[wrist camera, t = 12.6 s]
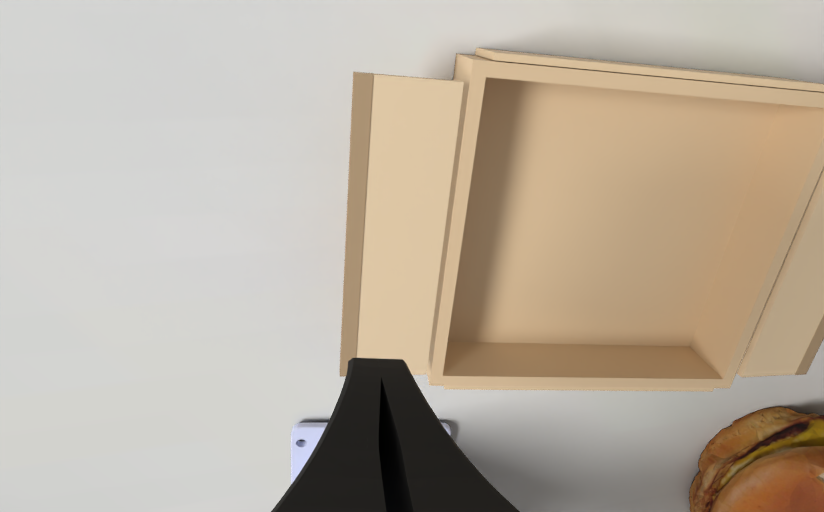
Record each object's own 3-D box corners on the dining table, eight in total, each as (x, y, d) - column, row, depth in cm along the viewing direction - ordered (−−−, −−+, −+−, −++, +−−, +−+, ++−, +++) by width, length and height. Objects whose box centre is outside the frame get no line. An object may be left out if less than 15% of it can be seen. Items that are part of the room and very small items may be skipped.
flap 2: (736, 372, 24) (799, 369, 25) (742, 377, 24) (806, 374, 24) (845, 115, 19) (919, 120, 20) (854, 117, 19) (929, 122, 20)
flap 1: (461, 81, 17) (353, 71, 17) (464, 82, 17) (353, 72, 16) (424, 369, 22) (339, 370, 21) (426, 374, 22) (339, 376, 21)
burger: (698, 540, 33) (748, 615, 29) (663, 446, 30) (716, 516, 25) (847, 479, 33) (921, 547, 28) (831, 373, 29) (915, 434, 25)
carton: (689, 354, 27) (727, 392, 24) (420, 349, 25) (428, 390, 22) (792, 79, 21) (857, 88, 19) (457, 45, 19) (474, 50, 17)
